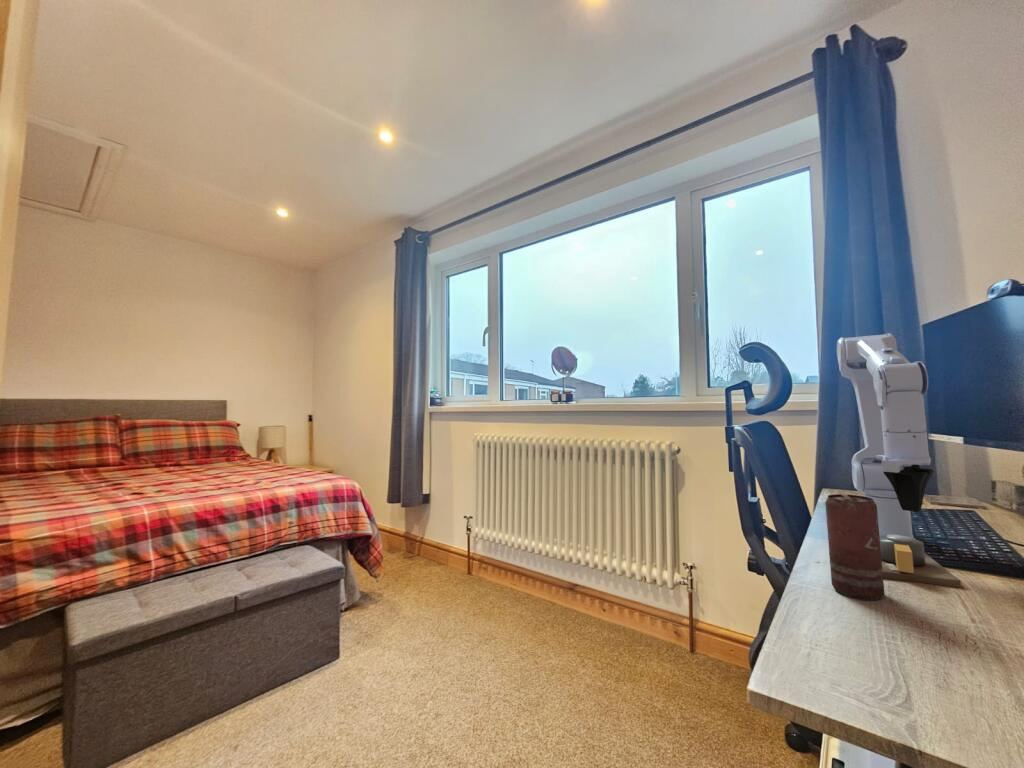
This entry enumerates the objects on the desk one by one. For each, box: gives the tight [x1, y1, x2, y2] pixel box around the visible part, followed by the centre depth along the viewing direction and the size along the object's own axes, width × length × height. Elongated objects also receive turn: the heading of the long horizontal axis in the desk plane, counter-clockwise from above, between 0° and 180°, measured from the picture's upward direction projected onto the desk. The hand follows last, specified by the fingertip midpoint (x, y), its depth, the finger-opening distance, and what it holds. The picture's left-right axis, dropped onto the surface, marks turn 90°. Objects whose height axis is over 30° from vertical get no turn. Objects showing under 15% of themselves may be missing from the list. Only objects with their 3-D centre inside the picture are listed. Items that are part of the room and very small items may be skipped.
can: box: [824, 493, 885, 601], centre depth 64 cm, size 6×6×14 cm
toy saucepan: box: [880, 535, 926, 573], centre depth 71 cm, size 10×6×4 cm, turn 142°
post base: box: [882, 552, 962, 588], centre depth 72 cm, size 14×10×1 cm
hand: (911, 510), depth 74 cm, fingers closed
